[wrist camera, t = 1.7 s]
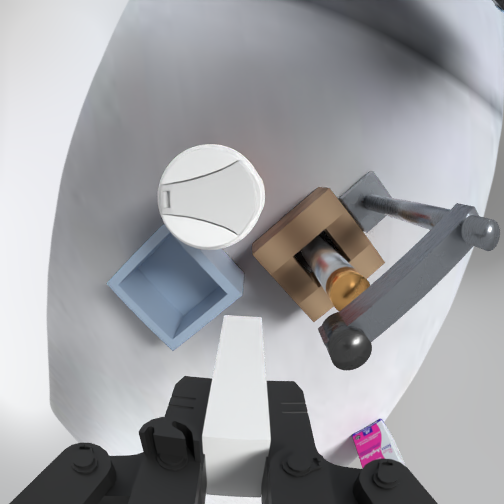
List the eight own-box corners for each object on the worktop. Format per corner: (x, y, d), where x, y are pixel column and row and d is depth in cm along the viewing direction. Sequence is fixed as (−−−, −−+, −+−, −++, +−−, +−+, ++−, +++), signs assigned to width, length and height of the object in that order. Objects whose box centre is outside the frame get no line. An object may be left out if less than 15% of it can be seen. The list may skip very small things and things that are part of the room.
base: (369, 171, 33) (373, 171, 32) (392, 204, 34) (397, 205, 33) (338, 198, 34) (341, 198, 33) (363, 230, 35) (367, 232, 34)
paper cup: (191, 224, 35) (154, 254, 21) (190, 157, 33) (151, 145, 19) (260, 224, 35) (265, 254, 21) (260, 156, 33) (265, 141, 19)
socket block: (318, 186, 34) (329, 188, 29) (368, 251, 36) (384, 262, 31) (252, 244, 35) (252, 254, 31) (306, 304, 37) (313, 322, 32)
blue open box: (186, 209, 34) (170, 217, 28) (244, 273, 36) (242, 295, 29) (130, 265, 36) (106, 283, 29) (185, 322, 38) (173, 351, 31)
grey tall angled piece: (371, 188, 32) (492, 207, 13) (383, 205, 33) (505, 240, 13) (287, 261, 34) (326, 362, 15) (300, 277, 35) (349, 386, 15)
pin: (315, 229, 35) (356, 266, 20) (330, 249, 36) (378, 295, 21) (295, 246, 35) (323, 293, 21) (311, 265, 36) (347, 321, 21)
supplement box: (380, 417, 42) (402, 465, 31) (390, 432, 43) (412, 477, 32) (350, 434, 43) (367, 484, 32) (362, 448, 44) (379, 495, 33)
